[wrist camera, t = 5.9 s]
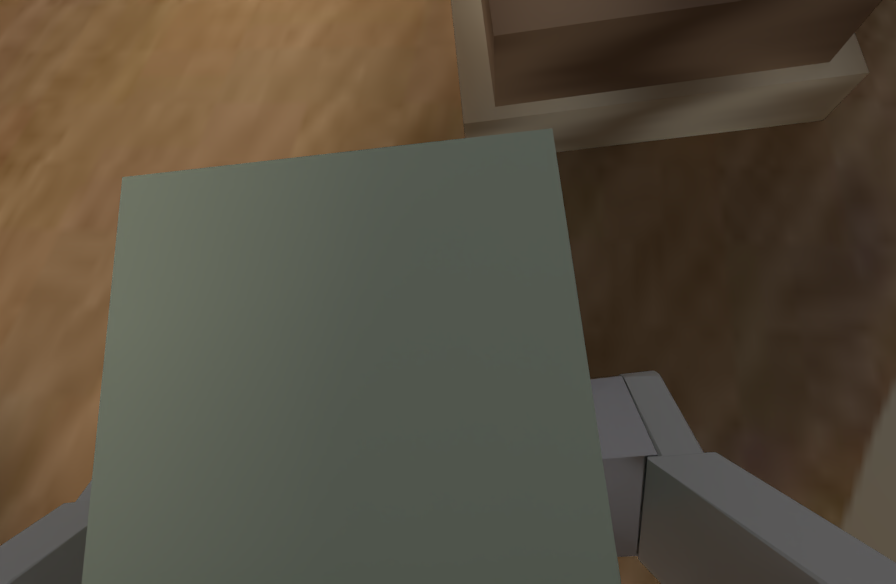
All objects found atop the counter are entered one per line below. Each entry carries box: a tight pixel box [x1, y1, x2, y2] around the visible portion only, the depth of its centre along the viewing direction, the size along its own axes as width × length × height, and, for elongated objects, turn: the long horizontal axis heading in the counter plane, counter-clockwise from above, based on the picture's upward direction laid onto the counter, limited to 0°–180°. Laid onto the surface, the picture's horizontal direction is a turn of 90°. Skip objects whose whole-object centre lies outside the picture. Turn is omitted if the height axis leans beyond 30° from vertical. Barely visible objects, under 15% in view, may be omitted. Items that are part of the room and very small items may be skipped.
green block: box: [82, 128, 621, 584], centre depth 10 cm, size 4×4×10 cm
